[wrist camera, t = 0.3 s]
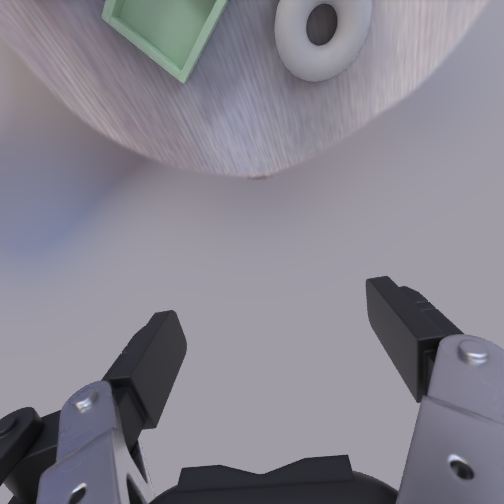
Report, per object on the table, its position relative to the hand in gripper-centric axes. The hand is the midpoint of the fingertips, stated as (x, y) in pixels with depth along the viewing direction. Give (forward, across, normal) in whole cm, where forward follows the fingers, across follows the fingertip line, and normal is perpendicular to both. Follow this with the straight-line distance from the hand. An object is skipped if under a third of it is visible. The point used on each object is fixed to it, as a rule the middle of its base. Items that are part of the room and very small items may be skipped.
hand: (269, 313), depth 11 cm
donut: (+27, -9, -18) cm, 33 cm away
